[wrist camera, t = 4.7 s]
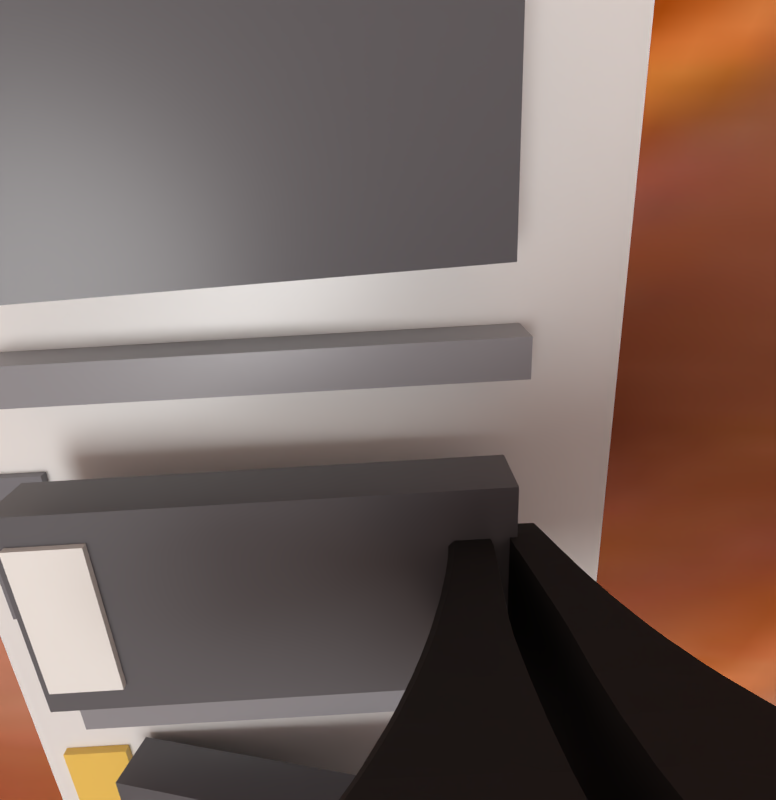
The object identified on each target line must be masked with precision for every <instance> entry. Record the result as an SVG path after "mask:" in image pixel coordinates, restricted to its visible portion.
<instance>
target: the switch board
mask: <svg viewBox="0 0 776 800" xmlns="http://www.w3.org/2000/svg"><path fill="white" fill-rule="evenodd" d="M654 2H655V0H525V20H524V53H523V85H522V118H521V151H520V184H519V216H518V249H517V262H511V263H499V264H487V265H475V266H463V267H451V268H440V269H428V270H416V271H404V272H392V273H380V274H368V275H356V276H344V277H332V278H321V279H309V280H297V281H285V282H273V283H261V284H249V285H237V286H225V287H213V288H202V289H190V290H178V291H166V292H154V293H142V294H130V295H118V296H106V297H94V298H83V299H71V300H59V301H47V302H35V303H23V304H11V305H0V501H1V500H3V499H4V498H5V497H6V496H7V495H8V494H9V493H11V492H12V491H13V490H14V489H15V488H16V487H17V486H18V485H20V484H21V483H31V482H48V481H65V480H82V479H99V478H116V477H133V476H150V475H167V474H184V473H200V472H217V471H234V470H251V469H268V468H285V467H302V466H319V465H336V464H353V463H370V462H387V461H404V460H421V459H438V458H455V457H472V456H489V455H504V456H505V458H506V460H507V462H508V465H509V467H510V469H511V471H512V473H513V475H514V477H515V479H516V481H517V483H518V485H519V507H518V524H520V523H534V524H535V525H536V526H537V527H538V528H540V529H541V530H542V531H543V532H544V533H545V534H546V535H547V536H548V537H549V538H550V539H551V540H552V541H553V542H554V543H555V544H556V545H557V546H558V547H559V548H560V549H561V550H562V551H563V552H564V553H565V554H567V555H568V556H569V557H570V558H571V559H572V560H573V561H574V562H575V563H576V564H577V565H578V566H579V567H580V568H581V569H582V570H583V571H585V572H586V573H587V574H588V575H589V576H590V577H591V578H592V579H593V580H595V581H597V571H598V561H599V551H600V541H601V531H602V521H603V511H604V501H605V491H606V481H607V471H608V461H609V451H610V441H611V431H612V421H613V411H614V401H615V391H616V381H617V371H618V361H619V351H620V341H621V331H622V321H623V311H624V302H625V292H626V282H627V272H628V262H629V252H630V242H631V232H632V222H633V212H634V202H635V192H636V182H637V172H638V162H639V152H640V142H641V132H642V122H643V112H644V102H645V92H646V82H647V72H648V62H649V52H650V42H651V32H652V22H653V12H654ZM0 636H1V639H2V641H3V644H4V646H5V649H6V652H7V654H8V657H9V660H10V662H11V665H12V667H13V670H14V673H15V675H16V678H17V680H18V683H19V686H20V688H21V691H22V694H23V696H24V699H25V701H26V704H27V707H28V709H29V712H30V714H31V717H32V720H33V722H34V725H35V728H36V730H37V733H38V735H39V738H40V741H41V743H42V746H43V748H44V751H45V754H46V756H47V759H48V761H49V764H50V767H51V769H52V772H53V775H54V777H55V780H56V782H57V785H58V788H59V790H60V793H61V795H62V798H63V800H121V798H120V795H119V792H118V789H117V786H116V781H117V780H118V778H119V777H120V775H121V774H122V772H123V771H124V769H125V768H126V766H127V765H128V763H129V762H130V760H131V759H132V757H133V756H134V754H135V753H136V751H137V750H138V748H139V747H140V745H141V744H142V742H143V741H144V739H145V738H146V737H149V738H155V739H160V740H166V741H171V742H177V743H182V744H188V745H193V746H198V747H204V748H209V749H215V750H220V751H226V752H231V753H237V754H242V755H248V756H253V757H259V758H264V759H270V760H275V761H281V762H286V763H291V764H297V765H302V766H308V767H313V768H319V769H324V770H330V771H335V772H341V773H346V774H352V775H357V773H358V772H359V770H360V769H361V767H362V766H363V764H364V762H365V761H366V759H367V757H368V756H369V754H370V752H371V751H372V749H373V747H374V746H375V744H376V742H377V741H378V739H379V738H380V736H381V734H382V733H383V731H384V729H385V728H386V726H387V724H388V722H389V721H390V719H391V717H392V715H393V713H394V711H395V710H396V708H397V706H398V704H399V702H400V700H401V698H402V696H403V694H404V692H405V690H400V691H384V692H368V693H352V694H336V695H320V696H304V697H288V698H272V699H255V700H239V701H223V702H207V703H191V704H175V705H159V706H143V707H127V708H111V709H95V710H79V711H63V712H50V709H49V706H48V704H47V701H46V698H45V695H44V693H43V690H42V687H41V684H40V682H39V679H38V676H37V673H36V671H35V668H34V665H33V662H32V660H31V657H30V654H29V651H28V649H27V646H26V643H25V640H24V638H23V635H22V632H21V629H20V627H19V624H18V621H17V618H16V616H15V613H14V610H13V607H12V605H11V602H10V599H9V596H8V594H7V591H6V588H5V585H4V583H3V580H2V577H1V574H0Z"/></svg>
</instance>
